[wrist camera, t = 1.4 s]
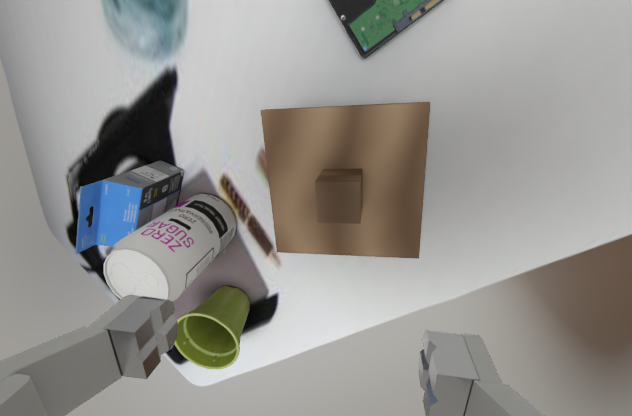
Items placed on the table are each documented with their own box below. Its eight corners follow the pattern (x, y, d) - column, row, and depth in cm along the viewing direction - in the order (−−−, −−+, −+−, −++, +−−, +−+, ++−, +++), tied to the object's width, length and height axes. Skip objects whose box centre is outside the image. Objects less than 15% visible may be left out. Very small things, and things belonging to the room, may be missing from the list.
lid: (428, 101, 25) (439, 105, 21) (417, 253, 30) (424, 283, 26) (264, 109, 28) (242, 114, 23) (279, 247, 33) (264, 273, 28)
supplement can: (191, 244, 46) (112, 311, 33) (179, 191, 43) (86, 241, 30) (242, 246, 45) (182, 317, 31) (233, 192, 42) (162, 244, 28)
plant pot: (231, 265, 46) (201, 302, 38) (273, 309, 48) (252, 353, 40) (193, 293, 50) (158, 332, 42) (233, 333, 51) (207, 378, 43)
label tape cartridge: (174, 223, 45) (106, 269, 34) (150, 213, 46) (75, 255, 34) (185, 170, 42) (114, 201, 31) (159, 158, 42) (79, 185, 31)
